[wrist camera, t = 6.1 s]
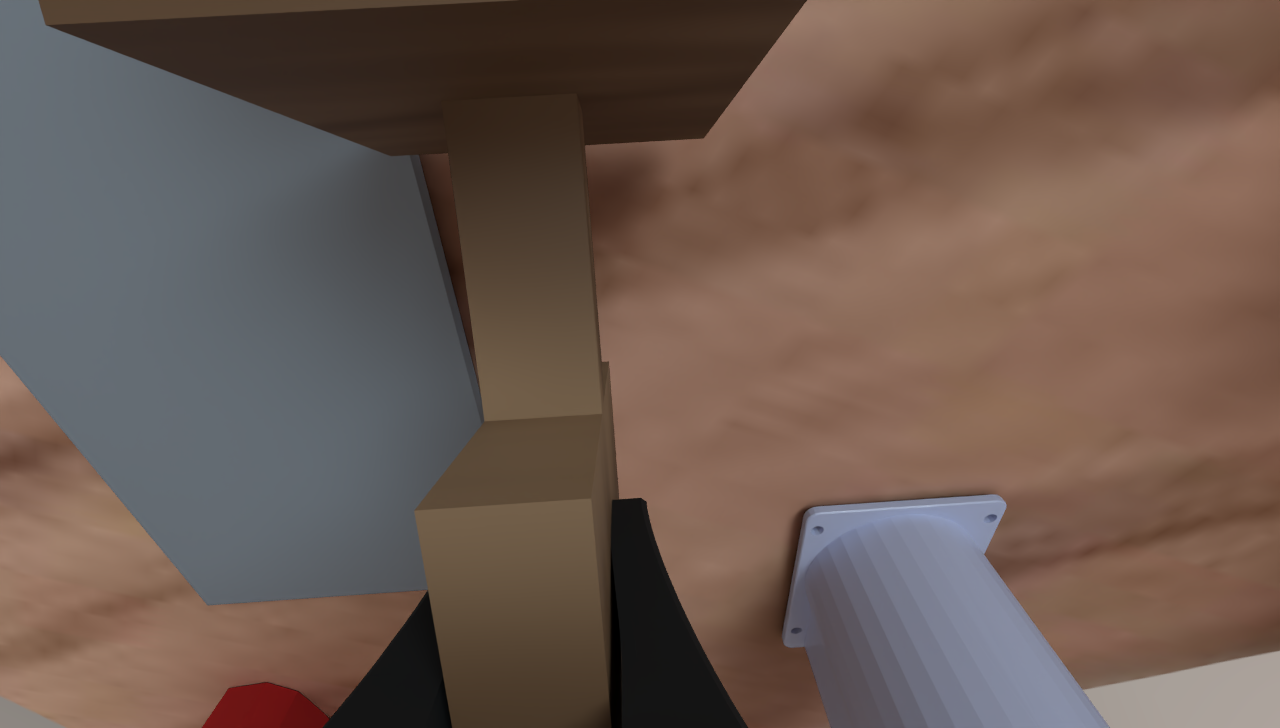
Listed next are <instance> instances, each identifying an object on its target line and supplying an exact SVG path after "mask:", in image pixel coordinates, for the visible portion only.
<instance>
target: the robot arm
mask: <svg viewBox="0 0 1280 728" xmlns="http://www.w3.org/2000/svg"><path fill="white" fill-rule="evenodd" d="M1005 509H1006V503H1005V501H1004V500H1003V499H1002V498H1001V497H1000V496H998V495H977V496H963V497H948V498H933V499H919V500H904V501H890V502H875V503H861V504H846V505H831V506H817V507H812V508H810V509H808V510H807V511H806V512H805V514H804V516H803V521H802V527H801V532H800V538H799V543H798V549H797V554H796V560H795V565H794V571H793V576H792V582H791V587H790V593H789V599H788V604H787V610H786V615H785V621H784V626H783V632H782V640H783V643H784V645H785V646H787V647H790V648H795V647H805V649H806V652H807V655H808V658H809V661H810V665H811V668H812V671H813V674H814V677H815V680H816V683H817V686H818V689H819V693H820V696H821V699H822V702H823V705H824V708H825V711H826V714H827V718H828V721H829V724H830V727H831V728H1110V727H1109V726H1108V724H1107V723H1106V721H1105V720H1104V719H1103V717H1102V716H1101V715H1100V713H1099V712H1098V711H1097V709H1096V708H1095V706H1094V705H1093V704H1092V702H1091V701H1090V700H1089V698H1088V697H1087V695H1086V694H1085V693H1084V691H1083V690H1082V689H1081V687H1080V686H1079V684H1078V683H1077V682H1076V680H1075V679H1074V678H1073V676H1072V675H1071V673H1070V672H1069V671H1068V669H1067V668H1066V667H1065V665H1064V664H1063V663H1062V661H1061V660H1060V658H1059V657H1058V656H1057V654H1056V653H1055V652H1054V650H1053V649H1052V647H1051V646H1050V645H1049V643H1048V642H1047V641H1046V639H1045V638H1044V636H1043V635H1042V634H1041V632H1040V631H1039V630H1038V628H1037V627H1036V625H1035V624H1034V623H1033V621H1032V620H1031V619H1030V617H1029V616H1028V615H1027V613H1026V612H1025V610H1024V609H1023V608H1022V606H1021V605H1020V604H1019V602H1018V601H1017V599H1016V598H1015V597H1014V595H1013V594H1012V593H1011V591H1010V590H1009V588H1008V587H1007V586H1006V584H1005V583H1004V582H1003V580H1002V579H1001V577H1000V576H999V575H998V573H997V572H996V571H995V569H994V568H993V567H992V565H991V564H990V562H989V561H988V560H987V558H986V557H985V556H984V553H985V551H986V549H987V547H988V545H989V543H990V541H991V538H992V536H993V534H994V532H995V530H996V528H997V526H998V524H999V522H1000V520H1001V518H1002V516H1003V513H1004V511H1005ZM611 553H612V562H613V572H614V581H615V590H616V600H617V609H618V619H619V628H620V641H621V657H622V728H748V727H747V725H746V724H745V722H744V720H743V719H742V717H741V715H740V714H739V712H738V710H737V709H736V707H735V705H734V704H733V702H732V701H731V699H730V697H729V695H728V694H727V692H726V690H725V688H724V687H723V685H722V683H721V681H720V680H719V678H718V676H717V674H716V673H715V671H714V669H713V667H712V665H711V663H710V662H709V660H708V658H707V656H706V654H705V652H704V650H703V648H702V646H701V644H700V643H699V641H698V639H697V637H696V634H695V632H694V630H693V628H692V626H691V624H690V622H689V620H688V618H687V616H686V614H685V612H684V610H683V608H682V606H681V603H680V601H679V599H678V597H677V594H676V592H675V590H674V587H673V585H672V583H671V580H670V578H669V575H668V573H667V571H666V568H665V566H664V563H663V560H662V558H661V555H660V552H659V549H658V546H657V543H656V541H655V537H654V534H653V531H652V527H651V523H650V519H649V515H648V510H647V503H646V501H644V500H643V499H642V498H633V499H619V500H612V512H611ZM322 728H452V723H451V717H450V712H449V706H448V700H447V695H446V689H445V683H444V678H443V672H442V666H441V661H440V655H439V649H438V644H437V638H436V632H435V627H434V621H433V615H432V610H431V604H430V598H429V592H428V591H427V592H426V594H425V595H424V597H423V598H422V600H421V601H420V603H419V604H418V606H417V607H416V609H415V610H414V611H413V613H412V614H411V616H410V617H409V619H408V620H407V621H406V623H405V624H404V625H403V627H402V628H401V629H400V631H399V632H398V633H397V635H396V636H395V637H394V639H393V640H392V641H391V643H390V644H389V646H388V647H387V648H386V650H385V651H384V652H383V654H382V655H381V656H380V658H379V659H378V660H377V662H376V663H375V664H374V665H373V667H372V668H371V669H370V671H369V672H368V673H367V674H366V676H365V677H364V678H363V679H362V681H361V682H360V683H359V684H358V686H357V687H356V688H355V689H354V691H353V692H352V693H351V694H350V695H349V697H348V698H347V699H346V700H345V701H344V703H343V704H342V705H341V706H340V707H339V709H338V710H337V711H336V712H335V713H334V715H333V716H332V717H331V718H330V719H329V720H328V722H327V723H326V724H325V725H324V726H323V727H322Z"/></svg>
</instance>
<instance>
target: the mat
mask: <svg viewBox="0 0 1280 728" xmlns="http://www.w3.org/2000/svg"><path fill="white" fill-rule="evenodd" d="M0 355H1V357H2V358H3V359H4V360H5V362H6V363H7V364H8V365H9V366H10V368H11V369H12V370H13V371H14V372H15V374H16V375H17V376H18V377H19V378H20V380H21V381H22V382H23V383H24V384H25V386H26V387H27V388H28V389H29V390H30V392H31V393H32V394H33V395H34V396H35V398H36V399H37V400H38V401H39V403H40V404H41V405H42V406H43V407H44V409H45V410H46V411H47V412H48V413H49V415H50V416H51V417H52V418H53V419H54V421H55V422H56V423H57V424H58V425H59V427H60V428H61V429H62V430H63V431H64V433H65V434H66V435H67V436H68V438H69V439H70V440H71V441H72V442H73V444H74V445H75V446H76V447H77V448H78V450H79V451H80V452H81V453H82V454H83V456H84V457H85V458H86V459H87V460H88V462H89V463H90V464H91V465H92V466H93V468H94V469H95V470H96V471H97V472H98V474H99V475H100V476H101V477H102V479H103V480H104V481H105V482H106V483H107V485H108V486H109V487H110V488H111V489H112V491H113V492H114V493H115V494H116V495H117V497H118V498H119V499H120V500H121V501H122V503H123V504H124V505H125V506H126V507H127V509H128V510H129V511H130V512H131V513H132V515H133V516H134V517H135V518H136V520H137V521H138V522H139V523H140V524H141V526H142V527H143V528H144V529H145V530H146V532H147V533H148V534H149V535H150V536H151V538H152V539H153V540H154V541H155V542H156V544H157V545H158V546H159V547H160V548H161V550H162V551H163V552H164V553H165V555H166V556H167V557H168V558H169V559H170V561H171V562H172V563H173V564H174V565H175V567H176V568H177V569H178V570H179V571H180V573H181V574H182V575H183V576H184V577H185V579H186V580H187V581H188V582H189V583H190V585H191V586H192V587H193V588H194V589H195V591H196V592H197V593H198V594H199V596H200V597H201V598H202V599H203V600H204V602H205V603H206V604H207V605H219V604H233V603H247V602H261V601H276V600H290V599H304V598H318V597H332V596H347V595H361V594H375V593H389V592H403V591H418V590H428V587H427V581H426V575H425V570H424V564H423V558H422V553H421V547H420V541H419V536H418V530H417V524H416V519H415V513H414V510H415V509H416V508H417V506H418V505H419V504H420V503H421V501H422V500H423V499H424V497H425V496H426V495H427V494H428V492H429V491H430V490H431V489H432V487H433V486H434V485H435V484H436V482H437V481H438V480H439V478H440V477H441V476H442V475H443V473H444V472H445V471H446V470H447V468H448V467H449V466H450V465H451V463H452V462H453V461H454V459H455V458H456V457H457V456H458V454H459V453H460V452H461V451H462V449H463V448H464V447H465V446H466V444H467V443H468V442H469V440H470V439H471V438H472V437H473V435H474V434H475V433H476V432H477V430H478V429H479V428H480V427H481V425H482V424H483V423H484V414H483V407H482V399H481V394H480V390H479V386H478V383H477V379H476V375H475V371H474V367H473V363H472V359H471V356H470V352H469V348H468V344H467V340H466V336H465V332H464V328H463V325H462V321H461V317H460V313H459V309H458V305H457V301H456V297H455V294H454V290H453V286H452V282H451V278H450V274H449V270H448V267H447V263H446V259H445V255H444V251H443V247H442V243H441V239H440V236H439V232H438V228H437V224H436V220H435V216H434V212H433V208H432V205H431V201H430V197H429V193H428V189H427V185H426V181H425V178H424V174H423V170H422V166H421V162H420V158H419V155H404V156H389V155H386V154H383V153H381V152H378V151H376V150H373V149H370V148H368V147H365V146H362V145H360V144H357V143H355V142H352V141H349V140H347V139H344V138H341V137H339V136H336V135H333V134H331V133H328V132H326V131H323V130H320V129H318V128H315V127H312V126H310V125H307V124H304V123H302V122H299V121H297V120H294V119H291V118H289V117H286V116H283V115H281V114H278V113H276V112H273V111H270V110H268V109H265V108H262V107H260V106H257V105H254V104H252V103H249V102H247V101H244V100H241V99H239V98H236V97H233V96H231V95H228V94H225V93H223V92H220V91H218V90H215V89H212V88H210V87H207V86H204V85H202V84H199V83H196V82H194V81H191V80H189V79H186V78H183V77H181V76H178V75H175V74H173V73H170V72H168V71H165V70H162V69H160V68H157V67H154V66H152V65H149V64H146V63H144V62H141V61H139V60H136V59H133V58H131V57H128V56H125V55H123V54H120V53H117V52H115V51H112V50H110V49H107V48H104V47H102V46H99V45H96V44H94V43H91V42H89V41H86V40H83V39H81V38H78V37H75V36H73V35H70V34H67V33H65V32H62V31H60V30H57V29H54V28H52V27H49V26H46V25H45V22H44V18H43V15H42V11H41V8H40V4H39V1H38V0H0Z"/></svg>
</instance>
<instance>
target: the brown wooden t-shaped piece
mask: <svg viewBox="0 0 1280 728" xmlns="http://www.w3.org/2000/svg"><path fill="white" fill-rule="evenodd" d="M38 1H39V4H40V8H41V11H42V15H43V18H44V22H45V25H46V26H49V27H52V28H54V29H57V30H60V31H62V32H65V33H67V34H70V35H73V36H75V37H78V38H81V39H83V40H86V41H89V42H91V43H94V44H96V45H99V46H102V47H104V48H107V49H110V50H112V51H115V52H117V53H120V54H123V55H125V56H128V57H131V58H133V59H136V60H139V61H141V62H144V63H146V64H149V65H152V66H154V67H157V68H160V69H162V70H165V71H168V72H170V73H173V74H175V75H178V76H181V77H183V78H186V79H189V80H191V81H194V82H196V83H199V84H202V85H204V86H207V87H210V88H212V89H215V90H218V91H220V92H223V93H225V94H228V95H231V96H233V97H236V98H239V99H241V100H244V101H247V102H249V103H252V104H254V105H257V106H260V107H262V108H265V109H268V110H270V111H273V112H276V113H278V114H281V115H283V116H286V117H289V118H291V119H294V120H297V121H299V122H302V123H304V124H307V125H310V126H312V127H315V128H318V129H320V130H323V131H326V132H328V133H331V134H333V135H336V136H339V137H341V138H344V139H347V140H349V141H352V142H355V143H357V144H360V145H362V146H365V147H368V148H370V149H373V150H376V151H378V152H381V153H383V154H386V155H389V156H404V155H422V154H439V153H448V156H449V163H450V170H451V178H452V185H453V192H454V200H455V207H456V215H457V222H458V229H459V237H460V244H461V252H462V259H463V266H464V274H465V281H466V288H467V296H468V303H469V311H470V318H471V325H472V333H473V340H474V347H475V355H476V362H477V370H478V377H479V384H480V392H481V399H482V407H483V414H484V423H483V424H482V425H481V427H480V428H479V429H478V430H477V432H476V433H475V434H474V435H473V437H472V438H471V439H470V440H469V442H468V443H467V444H466V446H465V447H464V448H463V449H462V451H461V452H460V453H459V454H458V456H457V457H456V458H455V459H454V461H453V462H452V463H451V465H450V466H449V467H448V468H447V470H446V471H445V472H444V473H443V475H442V476H441V477H440V478H439V480H438V481H437V482H436V484H435V485H434V486H433V487H432V489H431V490H430V491H429V492H428V494H427V495H426V496H425V497H424V499H423V500H422V501H421V503H420V504H419V505H418V506H417V508H416V509H415V510H414V513H415V519H416V524H417V530H418V536H419V541H420V547H421V553H422V558H423V564H424V570H425V575H426V581H427V587H428V592H429V598H430V604H431V610H432V615H433V621H434V627H435V632H436V638H437V644H438V649H439V655H440V661H441V666H442V672H443V678H444V683H445V689H446V695H447V700H448V706H449V712H450V717H451V723H452V728H622V657H621V641H620V628H619V619H618V609H617V600H616V590H615V581H614V572H613V562H612V553H611V512H612V500H619V490H618V477H617V464H616V450H615V437H614V424H613V410H612V397H611V384H610V370H609V362H602V361H601V348H600V335H599V322H598V310H597V297H596V284H595V271H594V258H593V246H592V233H591V220H590V207H589V195H588V182H587V169H586V156H585V145H596V144H613V143H631V142H648V141H665V140H683V139H700V138H704V137H705V136H706V134H707V133H708V132H709V130H710V129H711V128H712V126H713V125H714V124H715V122H716V121H717V120H718V118H719V117H720V116H721V114H722V113H723V112H724V110H725V109H726V108H727V106H728V105H729V104H730V102H731V101H732V100H733V98H734V97H735V96H736V94H737V93H738V92H739V90H740V89H741V88H742V86H743V85H744V84H745V82H746V81H747V80H748V78H749V77H750V76H751V74H752V73H753V72H754V70H755V69H756V68H757V66H758V65H759V64H760V62H761V61H762V60H763V58H764V57H765V56H766V54H767V53H768V52H769V50H770V49H771V48H772V46H773V45H774V44H775V42H776V41H777V40H778V38H779V37H780V36H781V34H782V33H783V32H784V30H785V29H786V28H787V26H788V25H789V24H790V22H791V21H792V20H793V18H794V17H795V15H796V14H797V13H798V11H799V10H800V9H801V7H802V6H803V5H804V3H805V2H806V1H807V0H38Z"/></svg>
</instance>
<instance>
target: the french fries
mask: <svg viewBox="0 0 1280 728" xmlns="http://www.w3.org/2000/svg"><path fill="white" fill-rule="evenodd" d="M328 720H329V718H328V717H327V716H326V715H325V714H324V713H323V712H322V711H321V710H319V709H318V708H317V707H316V706H315V705H314V704H313V703H312V702H310V701H309V700H308V699H307V698H305V697H304V696H303V695H302V694H300V693H299V692H298V691H294V690H291V689H288V688H284V687H281V686H277V685H274V684H270V683H267V682H266V683H260V684H254V685H247V686H241V687H234V688H229V689H228V690H227V692H226V693H225V695H224V696H223V697H222V699H221V700H220V702H219V703H218V705H217V706H216V708H215V709H214V711H213V712H212V714H211V715H210V717H209V718H208V719H207V721H206V722H205V724H204V725H203V727H202V728H322V727H323V726H324V725H325V724H326V723H327V722H328Z"/></svg>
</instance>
